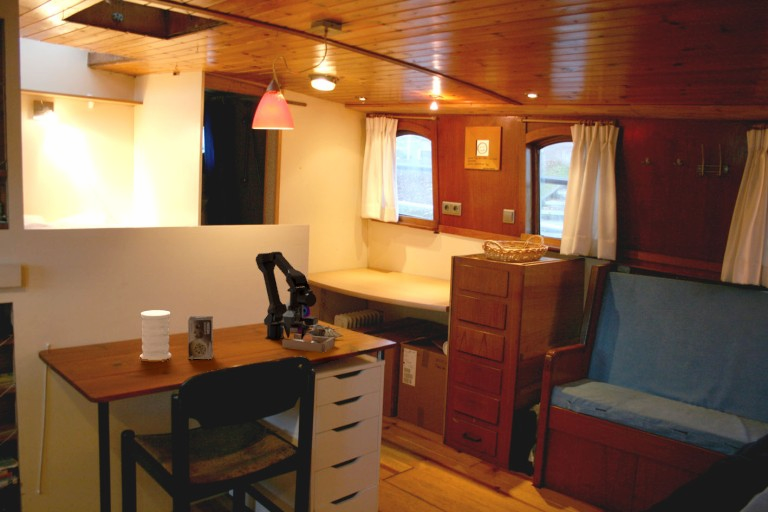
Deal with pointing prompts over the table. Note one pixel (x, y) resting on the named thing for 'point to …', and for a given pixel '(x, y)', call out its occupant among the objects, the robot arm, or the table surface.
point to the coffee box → (200, 337)
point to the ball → (307, 338)
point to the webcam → (297, 325)
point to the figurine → (323, 331)
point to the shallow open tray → (309, 343)
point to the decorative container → (155, 335)
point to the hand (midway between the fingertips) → (295, 338)
